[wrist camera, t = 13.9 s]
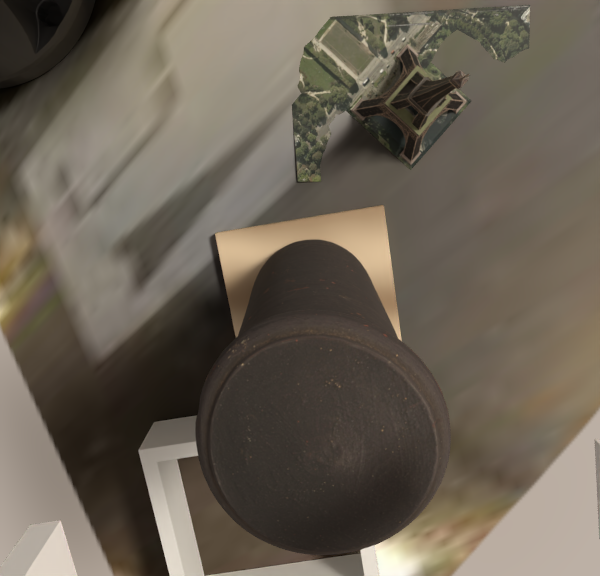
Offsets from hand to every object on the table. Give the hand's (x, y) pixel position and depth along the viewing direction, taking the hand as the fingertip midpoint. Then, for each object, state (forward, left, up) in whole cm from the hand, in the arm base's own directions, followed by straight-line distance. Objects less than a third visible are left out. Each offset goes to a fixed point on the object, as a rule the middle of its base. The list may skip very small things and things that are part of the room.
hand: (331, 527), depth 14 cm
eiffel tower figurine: (-11, +8, -26) cm, 29 cm away
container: (0, 0, -24) cm, 24 cm away
